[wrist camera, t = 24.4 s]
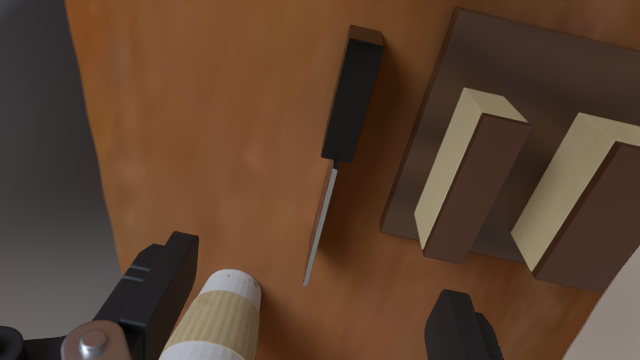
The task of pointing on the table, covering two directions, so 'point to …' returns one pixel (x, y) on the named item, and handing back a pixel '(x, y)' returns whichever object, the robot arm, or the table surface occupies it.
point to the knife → (346, 116)
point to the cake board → (525, 96)
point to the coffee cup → (219, 321)
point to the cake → (585, 207)
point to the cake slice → (468, 173)
